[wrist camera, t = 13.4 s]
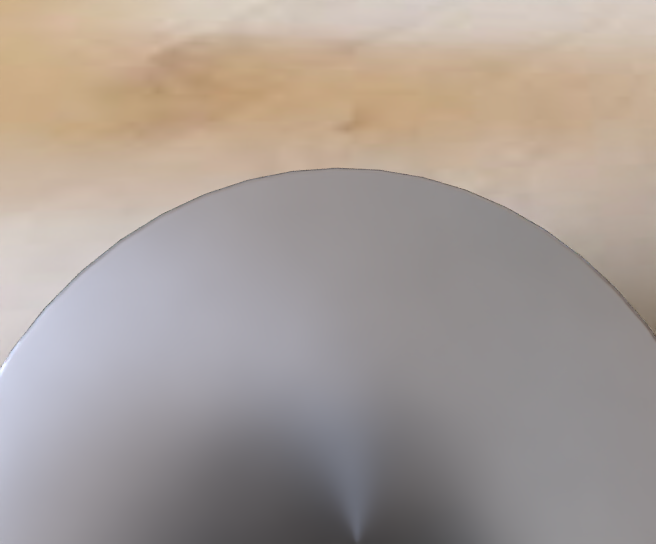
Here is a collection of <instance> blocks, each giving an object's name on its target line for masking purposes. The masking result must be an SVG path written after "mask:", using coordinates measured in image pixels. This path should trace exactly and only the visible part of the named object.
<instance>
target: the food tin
mask: <svg viewBox="0 0 656 544" xmlns="http://www.w3.org/2000/svg"><path fill="white" fill-rule="evenodd" d="M0 544H656V336H655V335H654V333H653V332H652V330H651V329H650V328H649V326H648V325H647V324H646V322H645V321H644V320H643V319H642V318H641V317H640V316H639V314H638V313H637V312H636V311H635V310H634V309H633V307H632V306H631V305H630V304H629V303H628V302H627V300H626V299H625V298H624V297H623V296H622V295H621V294H620V292H619V291H618V290H617V289H616V288H615V287H614V286H613V285H612V284H611V283H610V282H609V281H608V280H606V279H605V278H604V277H603V276H602V275H601V274H600V273H599V272H598V271H597V270H596V269H595V268H594V267H592V266H591V265H590V264H589V263H588V262H587V261H586V260H585V259H584V258H583V257H582V256H580V255H579V254H578V253H576V252H575V251H573V250H572V249H571V248H569V247H568V246H567V245H565V244H564V243H563V242H561V241H560V240H559V239H557V238H556V237H554V236H553V235H552V234H550V233H549V232H548V231H546V230H545V229H543V228H542V227H540V226H538V225H536V224H535V223H533V222H531V221H529V220H528V219H526V218H524V217H522V216H521V215H519V214H517V213H515V212H514V211H512V210H510V209H508V208H507V207H505V206H502V205H500V204H498V203H495V202H493V201H491V200H488V199H486V198H484V197H481V196H479V195H477V194H474V193H472V192H470V191H467V190H465V189H461V188H458V187H455V186H451V185H448V184H444V183H441V182H438V181H434V180H431V179H427V178H424V177H419V176H413V175H407V174H401V173H395V172H389V171H383V170H370V169H349V168H328V169H315V170H302V171H291V172H286V173H281V174H275V175H270V176H265V177H260V178H255V179H250V180H246V181H243V182H240V183H237V184H234V185H231V186H228V187H225V188H222V189H219V190H216V191H213V192H210V193H207V194H204V195H202V196H199V197H197V198H195V199H193V200H191V201H189V202H187V203H184V204H182V205H180V206H178V207H176V208H174V209H172V210H169V211H167V212H165V213H163V214H161V215H159V216H158V217H156V218H155V219H153V220H151V221H150V222H148V223H147V224H145V225H143V226H142V227H140V228H139V229H137V230H135V231H134V232H132V233H130V234H129V235H127V236H126V237H124V238H122V239H121V240H119V241H118V242H117V243H116V244H114V245H113V246H112V247H111V248H109V249H108V250H107V251H106V252H104V253H103V254H102V255H101V256H99V257H98V258H97V259H96V260H94V261H93V262H92V263H91V264H89V265H88V266H87V267H86V268H84V269H83V270H82V271H81V272H80V273H79V274H78V275H77V276H76V277H75V278H74V279H73V280H72V281H71V282H70V283H69V284H68V285H67V286H66V287H65V288H64V289H63V290H62V291H61V292H60V293H59V294H58V295H57V296H56V297H55V298H54V299H53V300H52V301H51V302H50V303H49V304H48V305H47V306H46V307H45V308H44V309H43V311H42V312H41V313H40V315H39V316H38V317H37V318H36V320H35V321H34V322H33V323H32V325H31V326H30V327H29V329H28V330H27V331H26V332H25V334H24V335H23V336H22V338H21V339H20V340H19V341H18V343H17V344H16V345H15V346H14V348H13V349H12V350H11V352H10V353H9V355H8V357H7V358H6V360H5V362H4V363H3V365H2V366H1V368H0Z"/></svg>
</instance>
